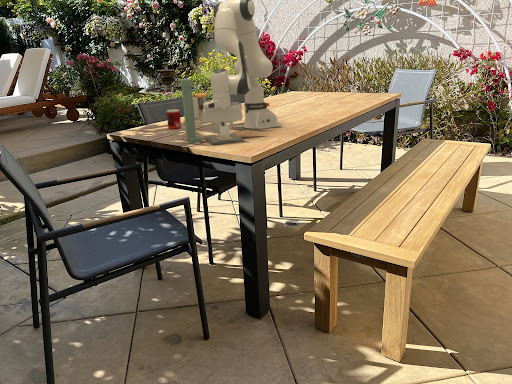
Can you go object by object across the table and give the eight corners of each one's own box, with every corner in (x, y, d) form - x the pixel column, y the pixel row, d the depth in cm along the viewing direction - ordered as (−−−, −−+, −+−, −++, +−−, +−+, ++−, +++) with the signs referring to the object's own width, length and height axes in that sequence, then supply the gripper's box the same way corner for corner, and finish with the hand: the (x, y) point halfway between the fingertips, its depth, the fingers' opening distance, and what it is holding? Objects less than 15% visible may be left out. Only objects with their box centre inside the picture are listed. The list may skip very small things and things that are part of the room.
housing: (227, 133, 210) (226, 120, 208) (229, 135, 205) (228, 121, 203) (217, 134, 208) (216, 120, 206) (220, 136, 204) (219, 122, 202)
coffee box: (209, 119, 274) (208, 95, 269) (204, 121, 269) (202, 96, 263) (198, 119, 278) (196, 95, 273) (193, 120, 273) (190, 96, 268)
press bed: (235, 137, 217) (235, 133, 216) (243, 142, 204) (243, 138, 204) (206, 140, 212) (205, 136, 211) (212, 145, 199) (211, 142, 199)
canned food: (182, 127, 251) (180, 109, 248) (180, 129, 244) (178, 111, 240) (169, 127, 251) (167, 109, 248) (167, 130, 244) (165, 111, 240)
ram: (207, 115, 212) (205, 93, 208) (209, 117, 207) (208, 94, 203) (192, 116, 210) (190, 94, 206) (195, 118, 205) (192, 95, 201)
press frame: (198, 139, 216) (193, 78, 205) (201, 141, 208) (196, 79, 198) (185, 140, 214) (179, 79, 203) (187, 143, 206) (181, 80, 196)
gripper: (239, 100, 208) (241, 127, 212) (200, 103, 202) (202, 131, 206) (243, 102, 202) (244, 129, 206) (202, 105, 196) (205, 133, 201)
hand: (223, 130), depth 206 cm, fingers closed on housing, 5 cm apart
